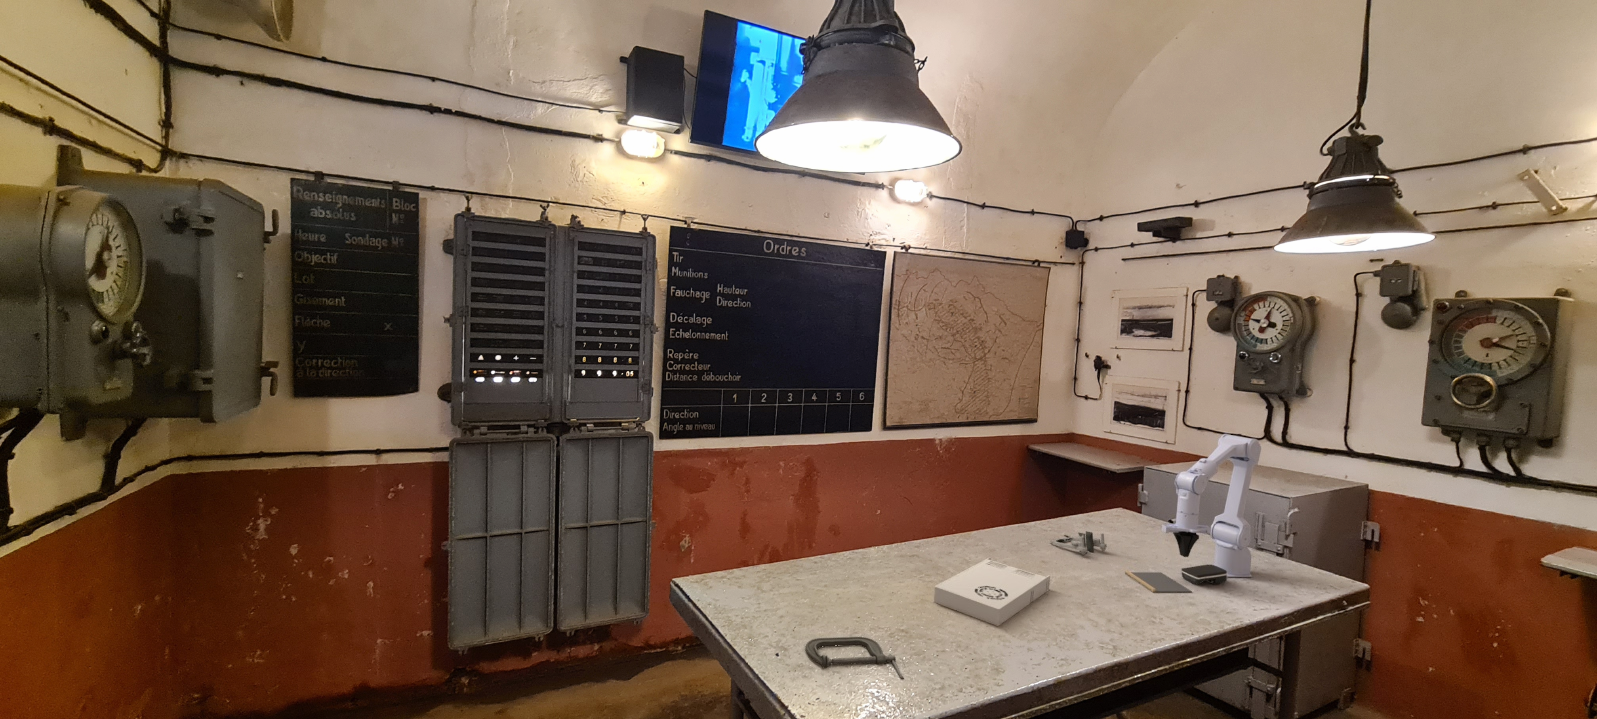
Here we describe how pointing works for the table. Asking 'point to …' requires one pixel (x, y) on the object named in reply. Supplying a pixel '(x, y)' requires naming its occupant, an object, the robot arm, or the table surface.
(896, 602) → the table surface
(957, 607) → the white flat box
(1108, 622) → the table surface
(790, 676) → the table surface
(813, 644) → the c clamp
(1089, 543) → the bike brake
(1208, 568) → the battery charger
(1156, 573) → the mat
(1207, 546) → the table surface
